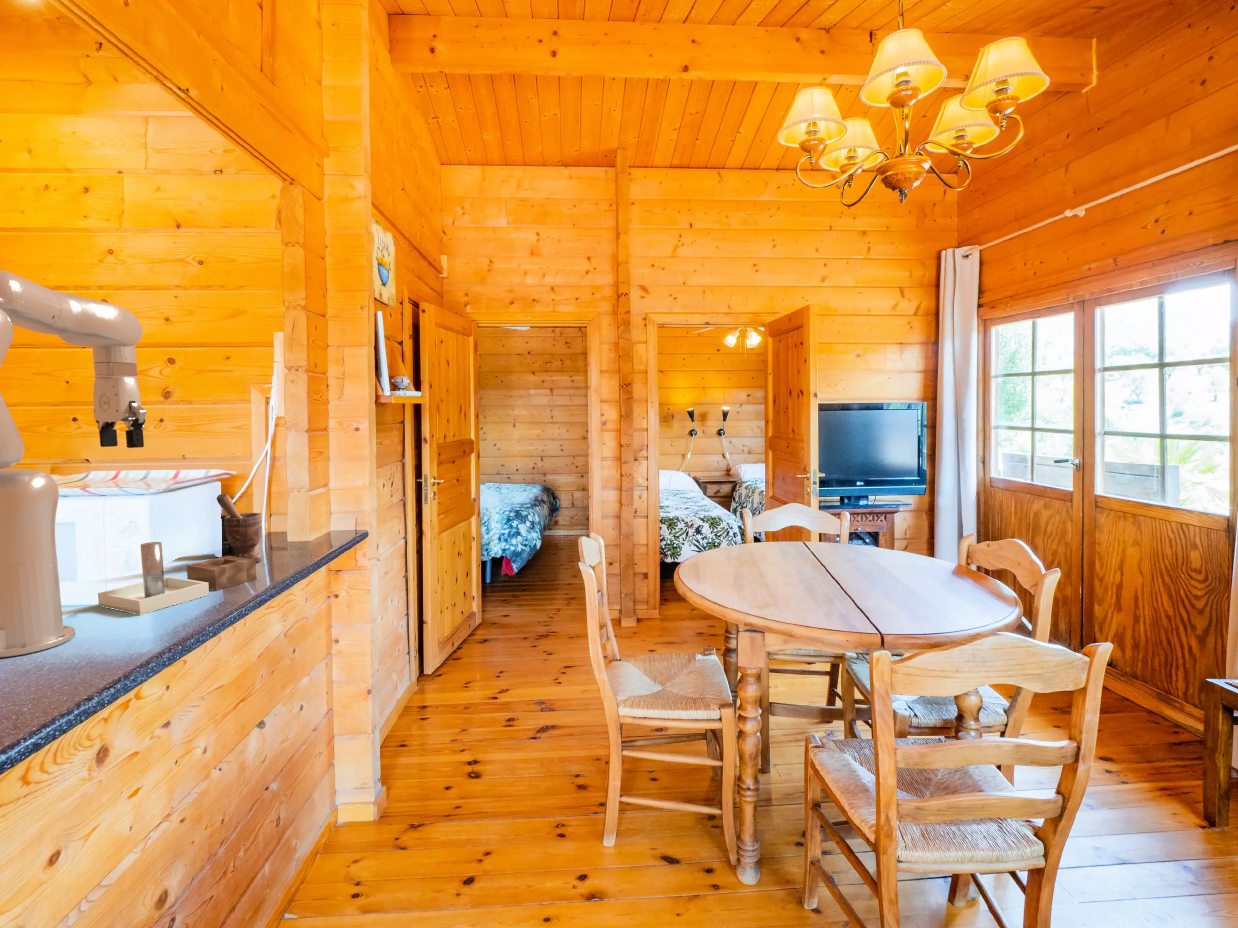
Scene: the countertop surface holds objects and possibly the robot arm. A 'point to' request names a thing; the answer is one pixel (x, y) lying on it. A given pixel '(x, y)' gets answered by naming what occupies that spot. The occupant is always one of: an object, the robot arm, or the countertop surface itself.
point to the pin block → (223, 571)
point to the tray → (137, 603)
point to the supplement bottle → (226, 540)
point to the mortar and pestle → (241, 529)
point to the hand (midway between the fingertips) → (122, 447)
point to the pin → (152, 569)
